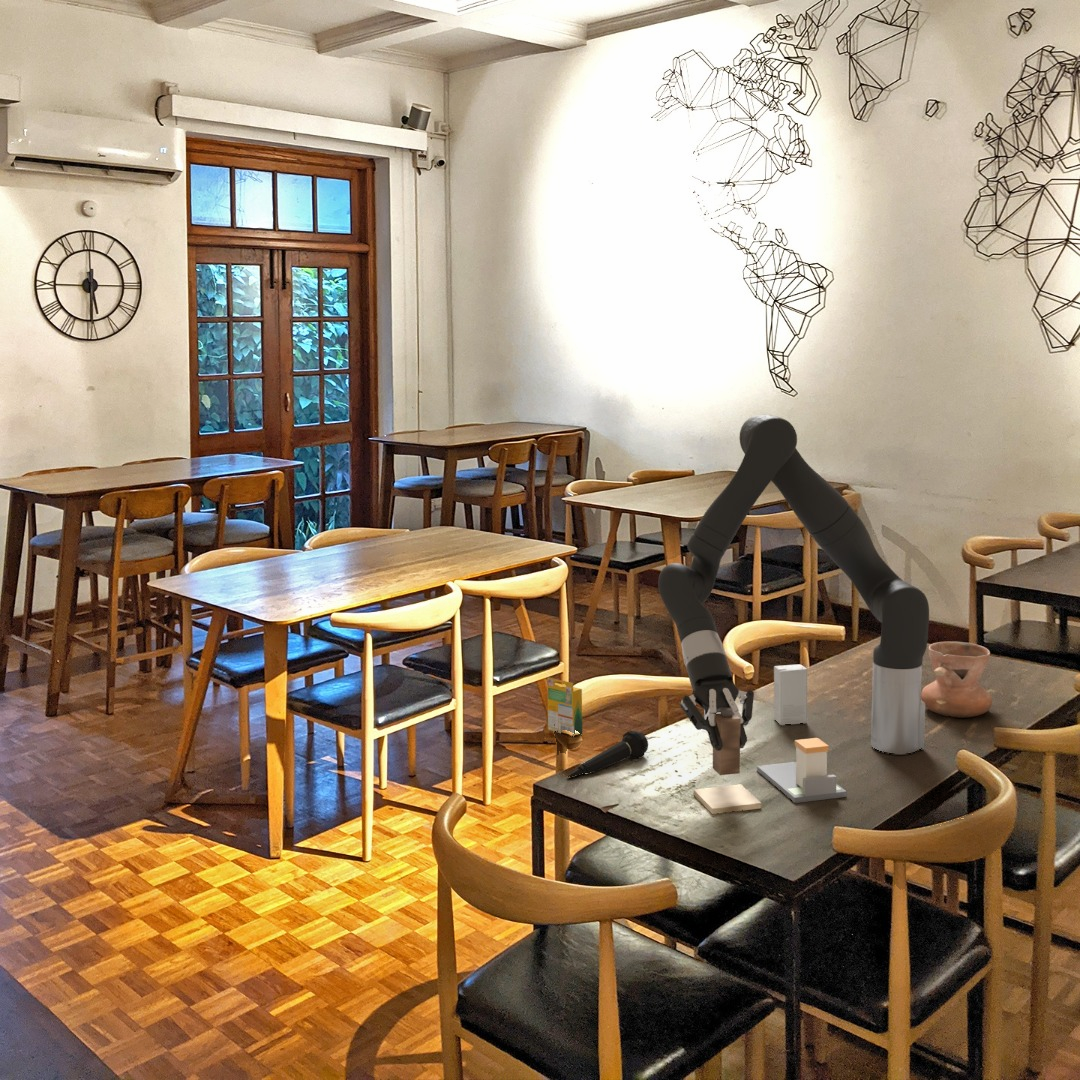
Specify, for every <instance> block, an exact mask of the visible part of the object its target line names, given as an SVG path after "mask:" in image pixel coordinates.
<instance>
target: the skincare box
mask: <svg viewBox="0 0 1080 1080" xmlns="http://www.w3.org/2000/svg"><path fill="white" fill-rule="evenodd" d="M773 719H774V721H775V720H776V721H777V722H778V723H779V724H778V723H777V722H776V721H775V722H776V723H777V724H778V725H780V726H786V725H785V724H791V725H801V724H800V723H803V724H807V723H808V668H806V667H805V666H804V665H802V664H786V665H785V664H784V665H775V666H773Z"/></svg>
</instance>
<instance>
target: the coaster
mask: <svg viewBox="0 0 1080 1080" xmlns="http://www.w3.org/2000/svg"><path fill="white" fill-rule="evenodd" d="M693 796H695V798H696V799H697V800H698V801H699V802H700V803H701V804H702V805H703V806H704V807H705V808H706V809H707V810H708V812H710V814H712V815H717V813H719V814H724V813H723V812H727V813H733V812H732V811H735V812H741V811H742V810H743V811H748V810H758V809H762V802H761V801H760V800H759V799H758V798H757V797H755V795H753V794H752V793H751V792H750V791H749V790H748V789H747V788H745V787H744V786H743V784H741V783H739V784H732V785H731V784H730V785H721V786H713V787H705V788H696V789H693Z"/></svg>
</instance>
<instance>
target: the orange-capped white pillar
mask: <svg viewBox="0 0 1080 1080" xmlns="http://www.w3.org/2000/svg"><path fill="white" fill-rule="evenodd" d="M794 747H795V748H796V750H795V762H796V783H797V784H798V785H799V786H800V787H802V788H803V778H808V777H817V776H825V775H827V772H828V771H827V770H828V767H827V765H828V760H827V759H828V752H830V751H829V750H830V748H829V747H830V746H829V745H828V744H827V743H825V742H824V741H823V740H821V739H820V738H818V737H811V738H801V739H795V740H794Z"/></svg>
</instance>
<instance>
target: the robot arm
mask: <svg viewBox="0 0 1080 1080" xmlns="http://www.w3.org/2000/svg"><path fill="white" fill-rule="evenodd" d="M738 436H739V437H738V438H739V445H740V448H741V450H742V452H743V454H744V456H743V459H742V461H741V463H740V464H739V467H738V469H737V471H736V472H735V473H734V475H733V477H732V478H731V480H730V482H729V483H728V484H727V485H726V487H725V488H724V489H723V490H722V491H721V492H720V493H719V495H718V496H717V497H716V498H715V500H713V502H712V503H711V504H710V505H709V506H708V508H707V509H706V511H705V512H704V514H703V516H702V517H701V519H700V520H699V522H698V524H697V525H696V527H695V529H694V530H693V532H692V534H691V536H690V538H689V540H688V542H687V544H686V546H687V547H686V548H687V550H688V552H689V553H691V555H692V556H693V557H692V561H691V566H690V567H689V566H687V565H684V563H678V562H673V563H669V564H667V565H666V566H664V567H663V568H662V569H661V571H660V574H659V575H658V579H657V580H658V582H657V584H658V585H657V586H658V592H659V595H660V598H661V600H662V603H663V604H664V606H665V608H666V609H667V612H668V614H669V615H670V617H671V619H672V621H673V622H674V624H675V627H676V631H677V635H678V638H679V641H680V644H681V651H682V657H683V663H684V665H685V667H686V671H687V675H688V679H689V682H690V686H691V688H692V693H691V695H689V696H688V695H684V696H683V698H682V699H681V701H680V704H679V706H680V708H681V709H682V711H683V712H684V713H685V715H686V716H687V718H688V719H689V721H690V722H691V723H692V725H693V727H694V728H695V729H696V730H698V731H700V730H705V731H706V733H707V735H708V738H709V741H710V745H711V747H712V749H713V748H715V749H716V751H719V750H721V749H722V747H723V743H722V739H721V737H720V734H719V730H718V727H716V719H715V715H716V714H717V713H721V709H722V708H731V709H733V713H734V714H736V715H737V716H738V717H739V718H741V722H740V749H744V748H745V746H746V744H747V742H748V736H747V734H746V730H745V726H748V724H749V722H750V721H751V720H752V717H753V710H754V709H753V708H754V707H753V706H754V696H755V693H754V691H753V690H751V689H749V690H747V691H743V690H740V689H739V688H738V687H737V685H736V684H735V682H734V678H733V673H732V669H731V667H730V664H729V661H728V656H727V654H726V651H725V647H724V644H723V642H722V639H721V638H720V635H719V633H718V632H719V631H718V628H717V626H716V623H715V619H714V617H713V615H712V613H711V611H710V609H708V608H707V607H706V605H703V604H704V603H705V602H706V601H707V600H708V598H709V597H710V596H711V593H712V592H713V589H714V585H715V582H716V579H717V576H718V572H719V569H720V565H721V561H722V558H723V556H725V553H726V552H727V550H728V548H729V546H730V545H731V543H732V541H733V539H735V538H734V537H735V536H736V535H737V532H738V530H739V529H740V527H741V526H742V524H743V522H744V520H745V519H746V518H747V515H748V514H749V512H750V511H751V510H752V508H753V507H754V505H755V503H756V502H757V501H758V499H759V497H760V496H761V495H762V494H763V492H764V491H765V489H767V487H768V486H769V484H770V483H771V482H772V483H773V485H774V486H775V487H776V488H777V489H778V491H779V492H780V494H781V495H782V496H783V499H785V501H786V503H787V504H788V506H789V507H790V509H791V510H792V511H793V513H794V514H795V516H797V518H798V520H799V521H800V522H801V524H802V525H803V527H804V528H805V529H806V530H807V532H808V533H809V534H810V536H811V537H812V538H813V540H814V541H815V542H816V544H817V545H818V546H819V547H820V548H821V549H822V550H823V551H824V553H825V554H826V555H827V556H828V557H829V558H830V559H831V561H833V563H834V564H835V565H836V566H837V567H838V568H839V569H840V570H841V571H842V572H843V573H844V574H845V575H846V576H847V577H848V579H849V580H850V581H851V582H852V585H854V587H855V589H856V590H857V591H858V594H859V595H860V596H861V598H862V599H863V601H864V603H865V605H866V606H867V609H869V611H870V612H871V614H872V616H874V618H875V619H876V620H877V621H878V622H880V623H881V630H880V632H881V633H880V643H879V644H878V645H876V646H875V647H874V649H873V655H872V684H871V685H872V690H871V728H870V729H871V730H870V731H871V732H870V746H871V745H872V746H871V748H872V747H873V748H872V749H874V748H875V749H877V750H879V751H878V752H880V751H882V752H881V753H884V752H891V753H909V752H914V751H916V750H918V749H921V748H924V749H925V729H926V728H925V726H926V725H925V724H926V723H925V722H926V706H925V702H923V701H922V700H921V692H922V688H923V686H922V683H923V682H922V681H923V658H924V655H925V653H926V652H927V651H926V650H927V648H928V640H929V639H928V638H929V624H930V606H929V601H928V598H927V596H926V595H925V593H924V592H923V591H922V590H921V589H920V588H919V587H916V586H914V585H912V584H910V583H908V582H906V581H904V580H903V579H902V578H901V577H899V575H897V573H895V572H894V570H893V569H892V568H891V567H890V566H889V565H888V564H887V563H886V562H885V561H884V559H883V558H882V557H881V556H880V554H879V553H878V551H877V550H876V548H875V545H874V543H873V541H872V538H871V535H870V534H869V530H868V528H867V527H866V525H865V524H864V523H865V522H863V520H862V519H861V518H860V516H859V515H858V514H857V512H856V511H855V510H854V509H853V506H851V504H850V503H849V502H848V501H847V500H846V498H845V497H844V496H843V495H842V494H841V492H839V491H838V490H837V489H835V488H834V486H833V485H831V483H830V482H828V480H826V478H824V477H823V476H822V475H820V474H819V473H818V472H816V471H815V469H813V467H811V466H810V465H809V463H808V462H807V461H806V460H805V458H803V456H802V454H801V453H800V452H799V451H798V449H797V445H798V444H797V443H798V433H797V431H796V429H795V427H794V426H793V425H792V423H791V422H789V421H788V420H787V419H785V418H783V417H780V416H776V415H772V414H767V413H766V414H756V415H753V416H750V417H749V418H748V419H747V420H745V421H744V422H743V424H742V426H741V427H740V431H739V435H738ZM737 698H738V699H739V702H740V704H741V705H742V710H741V713H740V712H739V711H740V710H739V707H738V704H737V703H736V701H737ZM697 705H699V707H701V708H702V709H703V711H704V713H703V714H704V716H703V714H702V713H701V712H700V710H699V708H698V707H697ZM875 749H874V750H875ZM877 750H876V751H877ZM921 750H922V749H921ZM883 751H884V752H883ZM918 751H919V750H918Z"/></svg>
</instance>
